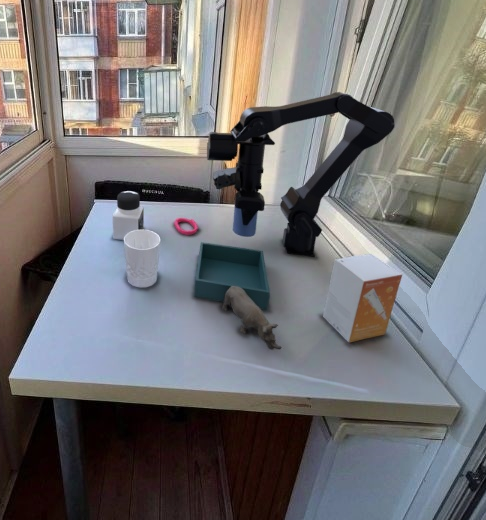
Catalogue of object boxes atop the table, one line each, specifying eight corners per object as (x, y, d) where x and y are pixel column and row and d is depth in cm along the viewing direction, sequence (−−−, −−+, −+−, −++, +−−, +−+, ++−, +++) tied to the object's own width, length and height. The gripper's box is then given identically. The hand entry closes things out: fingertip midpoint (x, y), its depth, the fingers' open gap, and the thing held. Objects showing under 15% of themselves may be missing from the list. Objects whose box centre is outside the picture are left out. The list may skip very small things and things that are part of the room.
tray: (260, 266, 78) (262, 250, 77) (267, 310, 65) (270, 292, 64) (199, 257, 82) (200, 241, 80) (194, 297, 68) (195, 280, 67)
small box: (348, 344, 58) (363, 281, 54) (321, 316, 63) (333, 258, 60) (386, 335, 59) (403, 274, 55) (356, 309, 65) (370, 252, 61)
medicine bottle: (138, 242, 88) (138, 201, 84) (112, 239, 89) (111, 198, 86) (143, 228, 95) (143, 189, 91) (119, 225, 96) (118, 187, 92)
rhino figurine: (268, 367, 54) (272, 337, 52) (217, 307, 66) (220, 282, 64) (287, 358, 55) (292, 329, 53) (234, 302, 67) (237, 277, 65)
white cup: (164, 272, 76) (165, 234, 73) (151, 294, 69) (152, 253, 66) (133, 263, 79) (133, 226, 76) (118, 283, 72) (117, 244, 69)
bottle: (254, 226, 87) (258, 188, 84) (256, 238, 82) (260, 198, 79) (232, 224, 88) (235, 186, 85) (232, 235, 83) (235, 195, 80)
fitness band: (201, 234, 91) (201, 229, 91) (181, 237, 90) (181, 232, 90) (190, 220, 99) (190, 215, 99) (171, 222, 98) (171, 217, 97)
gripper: (217, 147, 90) (213, 200, 95) (214, 171, 73) (210, 234, 77) (260, 150, 87) (254, 204, 92) (268, 176, 70) (260, 240, 75)
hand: (244, 219), depth 84 cm, fingers closed on bottle, 6 cm apart
